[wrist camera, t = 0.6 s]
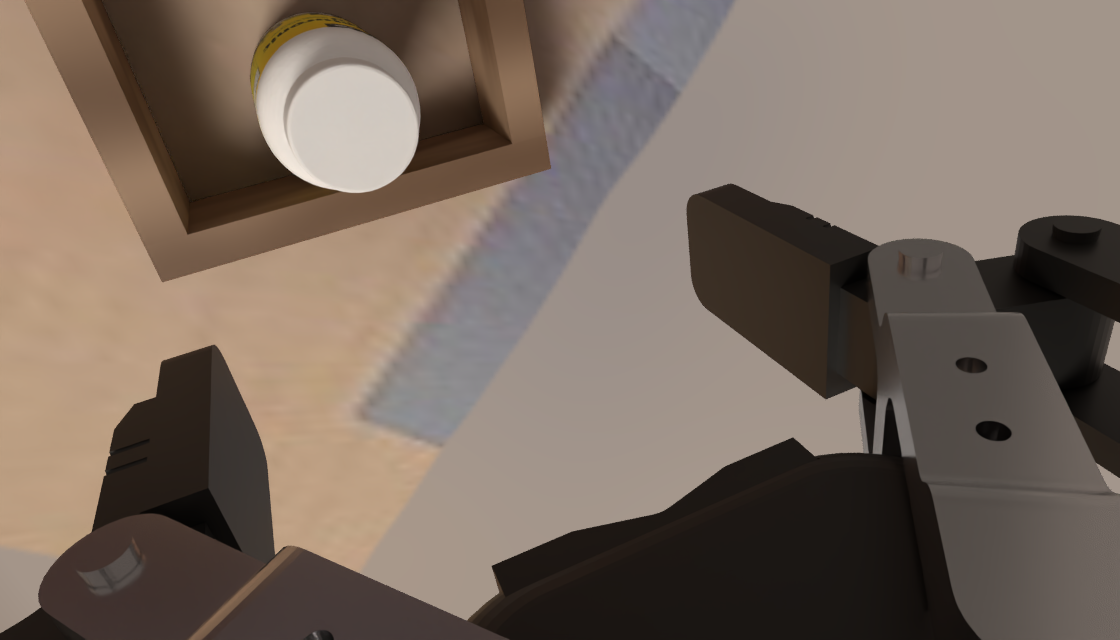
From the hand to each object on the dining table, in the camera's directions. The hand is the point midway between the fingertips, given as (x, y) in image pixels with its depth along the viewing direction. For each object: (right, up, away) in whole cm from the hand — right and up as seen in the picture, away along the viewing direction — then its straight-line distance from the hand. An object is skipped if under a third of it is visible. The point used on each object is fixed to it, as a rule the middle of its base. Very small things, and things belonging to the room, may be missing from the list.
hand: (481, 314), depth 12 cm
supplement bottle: (-9, +10, +19) cm, 23 cm away
